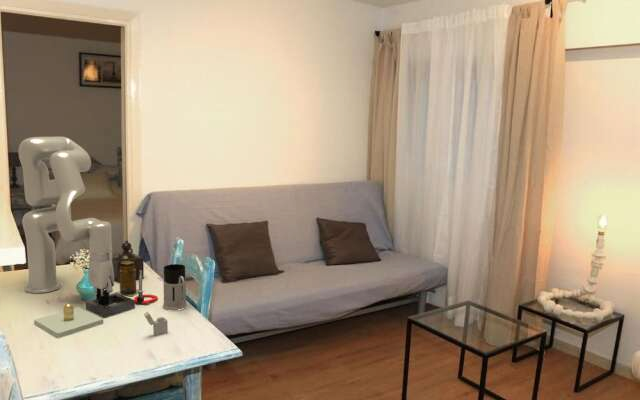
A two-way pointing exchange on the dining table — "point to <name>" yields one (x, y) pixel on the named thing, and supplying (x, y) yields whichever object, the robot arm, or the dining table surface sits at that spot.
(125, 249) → the manual coffee grinder
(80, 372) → the dining table surface
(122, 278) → the condiment
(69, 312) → the post
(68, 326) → the plate
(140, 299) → the tow hook
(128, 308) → the square metal frame
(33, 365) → the dining table surface
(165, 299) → the glass holder
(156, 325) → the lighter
